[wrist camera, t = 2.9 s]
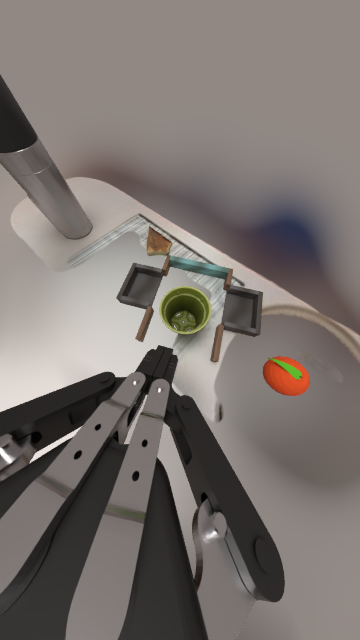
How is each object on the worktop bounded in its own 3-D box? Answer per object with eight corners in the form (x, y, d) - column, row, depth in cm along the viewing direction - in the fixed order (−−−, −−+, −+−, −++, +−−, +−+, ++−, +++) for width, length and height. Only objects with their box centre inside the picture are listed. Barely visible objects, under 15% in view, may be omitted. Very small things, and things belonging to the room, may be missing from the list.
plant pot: (210, 327, 31) (221, 313, 23) (178, 350, 29) (179, 344, 21) (187, 299, 34) (190, 278, 26) (157, 318, 32) (149, 302, 24)
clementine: (245, 371, 28) (266, 373, 21) (262, 347, 30) (286, 342, 23) (278, 399, 26) (312, 411, 20) (293, 373, 28) (330, 375, 21)
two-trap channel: (107, 332, 31) (101, 329, 28) (142, 256, 38) (140, 248, 36) (251, 371, 28) (257, 372, 26) (258, 281, 36) (263, 275, 33)
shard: (150, 230, 42) (148, 225, 41) (173, 231, 42) (172, 225, 41) (146, 256, 39) (145, 251, 37) (171, 257, 39) (171, 252, 37)
